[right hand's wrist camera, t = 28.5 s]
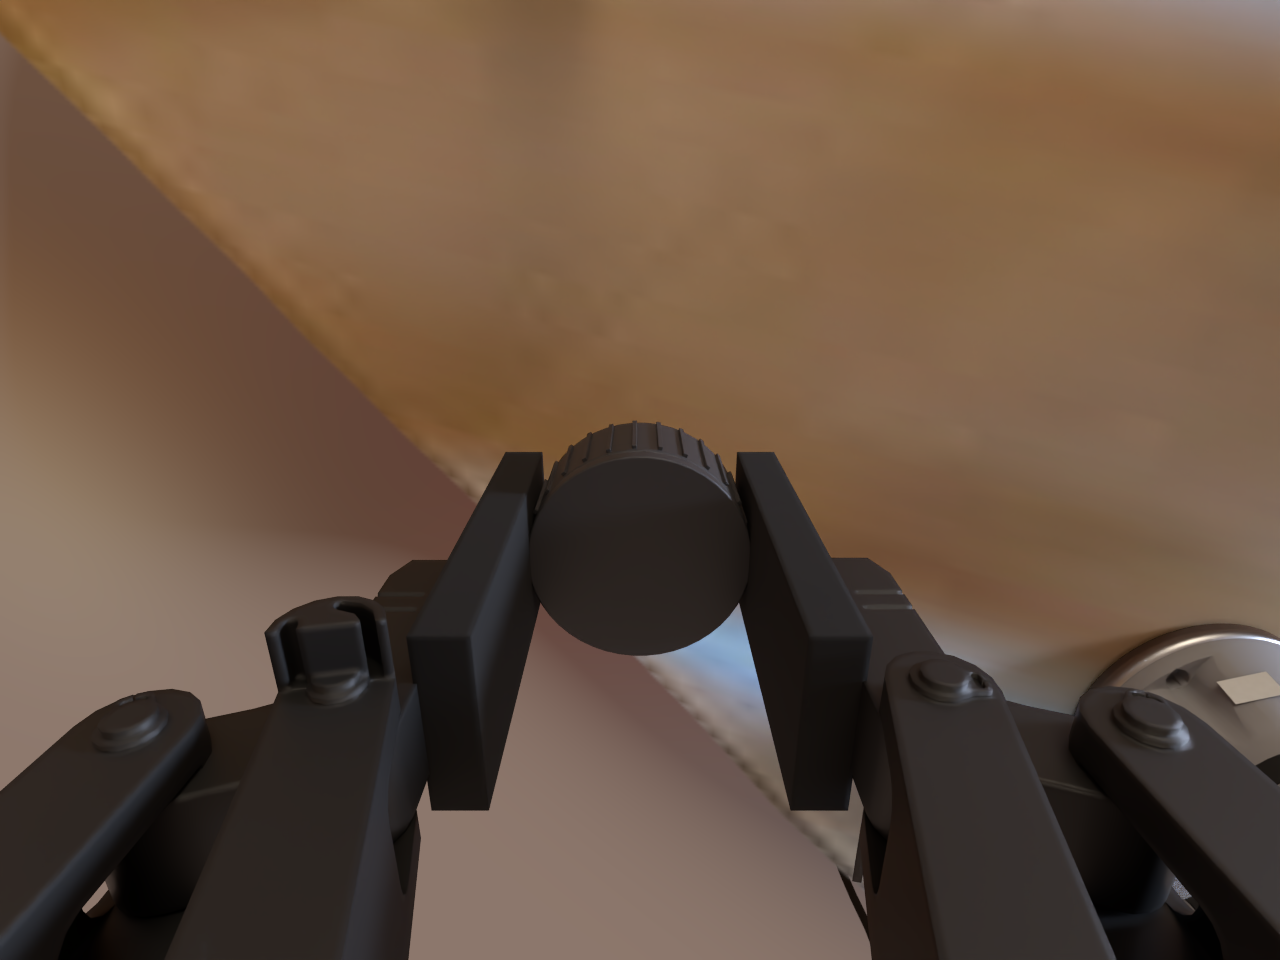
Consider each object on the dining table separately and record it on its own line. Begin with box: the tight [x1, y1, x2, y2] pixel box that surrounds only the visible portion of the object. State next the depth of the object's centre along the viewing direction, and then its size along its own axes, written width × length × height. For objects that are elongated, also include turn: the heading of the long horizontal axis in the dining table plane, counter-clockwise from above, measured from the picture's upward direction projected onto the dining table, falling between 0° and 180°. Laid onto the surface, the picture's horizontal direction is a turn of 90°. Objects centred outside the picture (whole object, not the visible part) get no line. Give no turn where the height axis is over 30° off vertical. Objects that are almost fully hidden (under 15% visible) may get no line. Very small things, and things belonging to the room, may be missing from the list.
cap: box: [529, 421, 750, 656], centre depth 14 cm, size 4×4×2 cm
